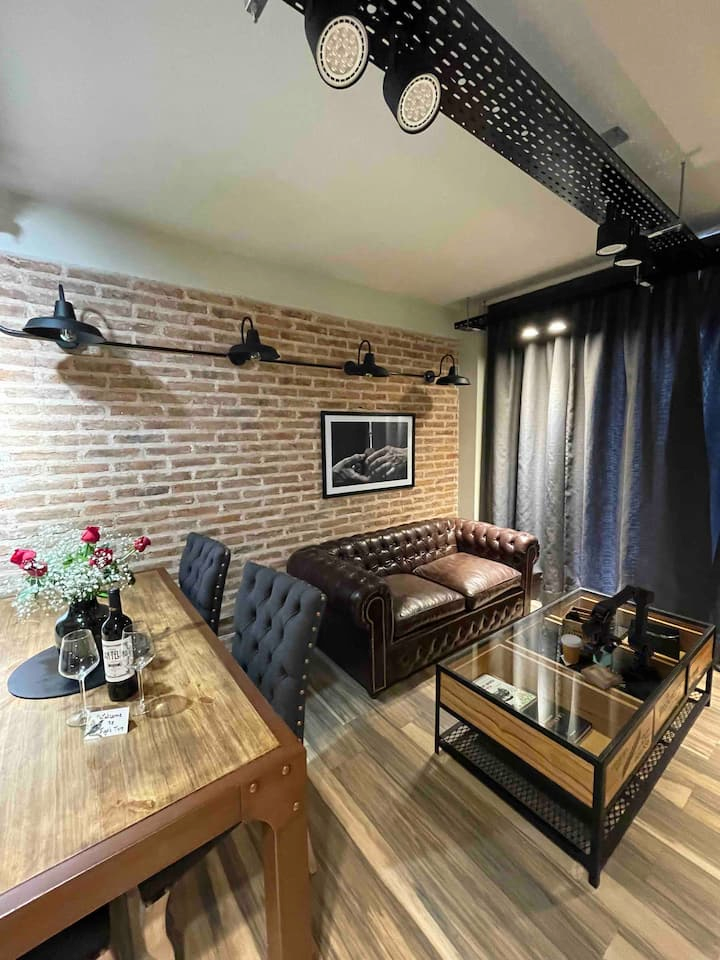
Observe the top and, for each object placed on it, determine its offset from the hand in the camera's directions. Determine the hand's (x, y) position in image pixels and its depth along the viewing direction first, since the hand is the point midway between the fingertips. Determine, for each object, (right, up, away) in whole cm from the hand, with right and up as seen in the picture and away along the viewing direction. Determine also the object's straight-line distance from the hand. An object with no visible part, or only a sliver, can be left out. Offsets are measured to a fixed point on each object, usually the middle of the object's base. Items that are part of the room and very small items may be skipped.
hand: (602, 660), depth 188 cm
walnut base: (0, -9, +1) cm, 9 cm away
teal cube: (0, -1, 0) cm, 1 cm away
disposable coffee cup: (-6, -7, +16) cm, 19 cm away
